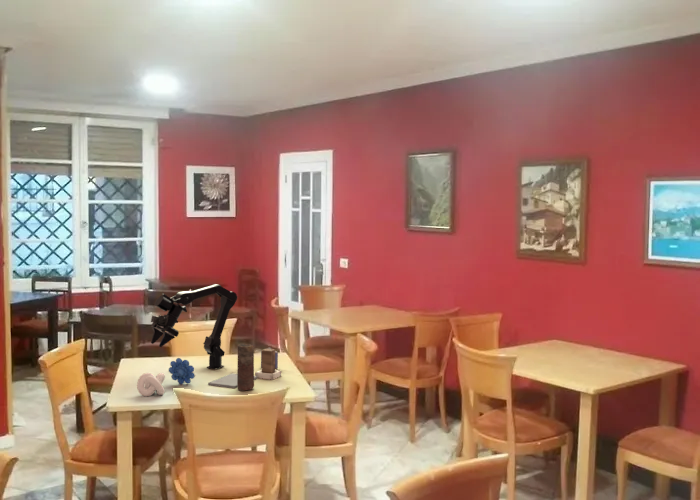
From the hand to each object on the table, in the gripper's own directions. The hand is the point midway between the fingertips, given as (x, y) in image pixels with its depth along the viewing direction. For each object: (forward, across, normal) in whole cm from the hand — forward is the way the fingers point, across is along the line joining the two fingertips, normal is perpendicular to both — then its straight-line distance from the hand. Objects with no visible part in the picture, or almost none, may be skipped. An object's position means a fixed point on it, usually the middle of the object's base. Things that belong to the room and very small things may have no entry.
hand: (155, 345), depth 328 cm
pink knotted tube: (+20, +29, -3) cm, 35 cm away
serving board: (-1, +30, +29) cm, 42 cm away
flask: (-15, +17, +52) cm, 57 cm away
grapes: (+11, +21, +11) cm, 26 cm away
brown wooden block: (-10, +31, +44) cm, 55 cm away
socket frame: (-10, +31, +44) cm, 55 cm away
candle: (0, +45, +27) cm, 52 cm away
